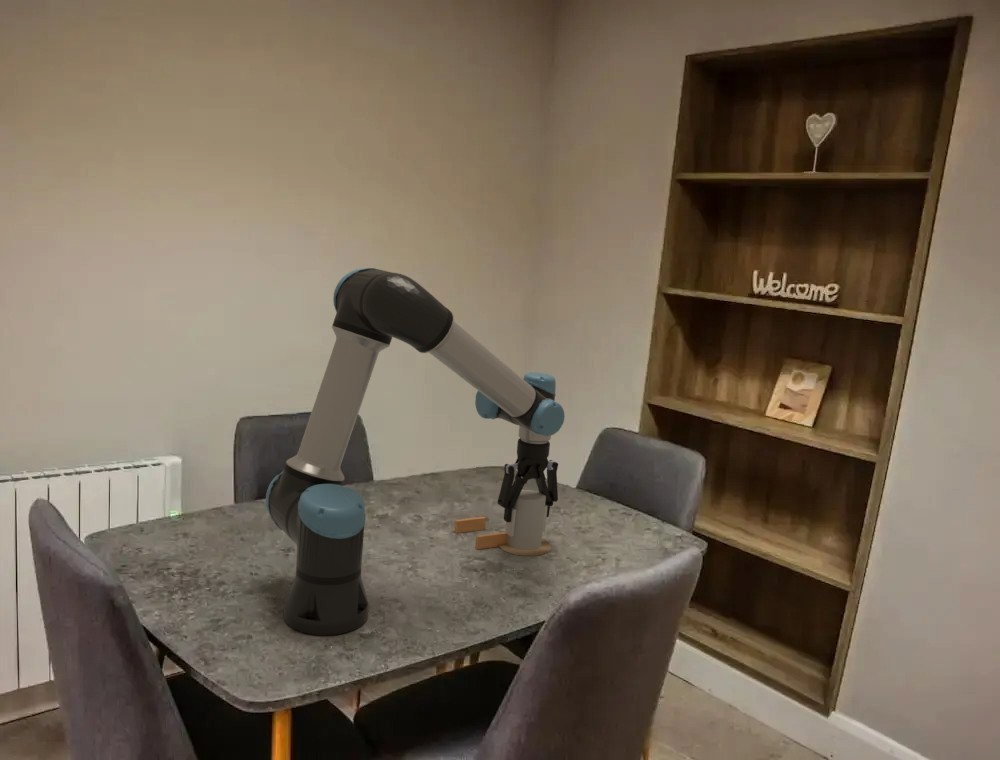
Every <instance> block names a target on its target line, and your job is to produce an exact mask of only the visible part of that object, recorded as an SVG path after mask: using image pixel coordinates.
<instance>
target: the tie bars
mask: <svg viewBox="0 0 1000 760" xmlns="http://www.w3.org/2000/svg"><path fill="white" fill-rule="evenodd" d="M486 521H487V518H486V517H485V516H478V517H469V518H460V519H455V521H454V533H456V534H461V533H468V532H475V531H477V532H478V531H482V530H483V531H484V530H486V523H487V522H486ZM507 537H508V534H506V533H505V531H501V532H493V533H487V534H486V533H485V534H480V535H476V536H475V546H474V548H475V550H483V549H489V548H497V547H498V545H501V544H507ZM498 548H499V547H498Z"/></svg>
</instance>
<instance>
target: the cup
mask: <svg viewBox="0 0 1000 760" xmlns="http://www.w3.org/2000/svg"><path fill="white" fill-rule="evenodd" d="M545 501H546V496H545V495H543V494H542V493H540V492H539V490H538V491H537V490H531V489H522V491H521V493H520V495H519V497H518V499H517V501H516V503H515V506H514V509H516V517H515V528H514V536H512V537H511V536H509V535H508V537H507V543H508V545H510V546H511V547H513V548H516V549H520V550H535V549H538V548H540V547H541V541H542V538H543V532H542V531H543V521H544V511H545Z"/></svg>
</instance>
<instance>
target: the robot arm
mask: <svg viewBox="0 0 1000 760" xmlns="http://www.w3.org/2000/svg"><path fill="white" fill-rule="evenodd" d="M332 300H333V306H334V309H335V312H336V313H335V315H334V316H335V317H334V320H333V323H332V326H331V329H332V331H333V333H334V335H335V337H336V338H335V342H334V344H333V348H332V351H331V354H330V357H329V359H328V362H327V366H326V368H325V372H324V374H323V376H322V377H323V378H322V380H321V383H320V386H319V389H318V392H317V394H316V399H315V400H314V404H313V406H312V410H311V413H310V415H309V419H308V422H307V424H306V428H305V430H304V434H303V436H302V440H301V442H300V444H299V449H298V451H297V453H296V454H295V455H294V456H293V457H290V458H288V459H287V460H286V462H285V465H284V467H283V470H282V471H281V472H280V473H279V474H277V475H275V476H274V478H272V480H271V482H270V483H269V484H268V488H267V490H266V494H265V506H266V511H267V512H268V514H269V516H270V518H271V520H272V522H273V523H274V524H275V526H276V527H277V528H279V530H281V531H283V533H284V534H286V536H288V537H289V539H290V540H292V541H293V542H294V543H295V544H296V563H295V565H296V568H295V577H294V579H293V582H292V585H291V586H290V590H289V593H288V595H287V597H286V599H285V603H284V610H283V612H284V613H283V619H284V621H285V623H286V624H287V625H288V626H289V627H291V629H294V630H295V631H297V632H300V633H303V634H308V635H314V636H331V635H332V636H334V635H335V636H336V635H340V634H345V633H349V632H352V631H354V630H356V629H358V628H360V627H361V626H363V625H364V624H365V623H366V622H367V619H368V618H369V606H370V605H369V599H368V596H367V593H366V589H365V586H364V582H363V579H362V566H363V565H362V564H363V549H364V537H365V536H364V534H365V524H366V514H367V513H366V509H365V507H366V505H365V501H364V499H363V497H362V496H361V494H360V493H359V492H358V491H356V490H354V489H352V488H350V487H348V486H343V484H344V481H345V475H344V473H343V471H342V469H341V465H342V462H343V459H344V456H345V453H346V450H347V449H348V445H349V442H350V439H351V435H352V433H353V430H354V427H355V424H356V421H357V418H358V415H359V412H360V409H361V406H362V403H363V400H364V398H365V394H366V392H367V389H368V386H369V383H370V380H371V377H372V373H373V371H374V368H375V365H376V363H377V360H378V356H379V354H380V352H381V351H384V350H385V349H387V348H389V347H390V345H391V342H392V339H393V338H394V339H396V340H399V341H401V342H404V343H405V344H408V345H409V346H411V347H412V348H413V349H415V350H416V351H417V352H419V353H420V354H428V353H429V354H430V355H432V356H433V357H434V358H435V359H436V360H438V361H439V362H440V363H441V364H443V365H444V366H446V367H447V368H448V369H450V370H451V372H454V373H455V374H456V375H457V376H459V377H460V378H462V380H463V381H465V382H466V383H468V384H469V385H470V386H471V387H473V388H475V390H477V392H476V393H475V403H474V404H475V409H476V412H477V414H478V415H479V416H480V417H481V418H482V419H485V420H486V419H488V420H490V419H491V420H495V419H502V420H504V421H506V422H509V423H511V424H514V425H516V426H518V437H519V438H518V439H517V444H516V445H517V446H516V447H517V448H516V455H517V458H516V460H515V462H514V463H512V464H509V463H505V464H504V465H503V469H504V471H503V472H504V475H503V478H502V483H501V487H500V492H499V495H498V499H497V504H498V505H499V506H500V507H502V508H504V513H503V520H504V521H505V527H504V528H505V529H504V532H505V533H506V534H508V535H509V536H511V537H512V536H514V528H515V517H516V509H514V506H515V503H516V501H517V499H518V497H519V495H520V493H521V491H522V490H524V489H523V488H524V486H525V484H527V483H528V481H529V480H532V479H534V480H535V482H536V486H537V490H538V492H540V493H542V494H543V495H545V496H546V501H545V511H544V521H543V531H542V533H545V532H546V525H547V518H549V515H550V508H551V507H552V506H553V505H554V503H555V502H558V500H559V494H558V491H559V490H558V477H557V475H558V474H557V473H558V468H559V463H558V462H556V461H554V460H553V459H550V460H548V458H549V455H550V448H551V446H550V445H551V443H550V440H551V439H552V436H553V435H556V434H557V433H558V432H559V431H560V429H561V428H562V426H563V425H564V422H565V417H566V415H565V411H564V408H563V406H562V405H561V404H560V403H559V402H557V401H555V398H556V396H557V395H556V389H557V388H556V386H557V385H556V384H557V383H556V378H555V377H554V376H553V375H551V374H548V373H543V372H527V373H524V375H523V378H522V377H521V376H520V375H519V374H518V373H516V372H515V371H514V370H513V369H512V368H510V366H508V365H507V364H506V363H504V361H502V360H501V359H500V358H499V357H497V356H496V355H495V354H494V353H492V352H491V351H490V350H489V349H488V348H486V346H485V345H483V344H482V343H481V342H480V341H478V340H477V339H476V338H474V336H472V335H471V334H470V333H468V331H466V330H465V329H464V328H463V327H462V326H460V325H459V324H458V323H457V322H456V321H455V315H454V314H453V312H452V311H451V310H450V309H449V308H447V307H446V306H445V305H444V304H443V303H442V302H441V301H440V300H438V298H436V297H435V296H434V295H433V294H431V293H430V292H429V291H428V290H427V289H425V288H424V287H423V286H422V285H421V284H420V283H418V282H417V281H416V280H414V279H412V278H411V277H409V276H407V275H405V274H402V273H398V272H392V271H387V270H382V269H379V268H378V269H377V268H375V267H366V268H358V269H357V268H356V269H354V270H351V271H349V272H348V273H346V274H345V275H344V276H343V277H342V278H340V280H339V281H338V283H337V285H336V286H335V289H334V291H333V299H332ZM545 471H546V475H545ZM546 482H547V483H546Z"/></svg>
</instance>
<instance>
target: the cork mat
mask: <svg viewBox="0 0 1000 760" xmlns="http://www.w3.org/2000/svg"><path fill="white" fill-rule="evenodd" d="M498 548H499V549H500V550H501V551H504V552H506V553H509V554H512V555H515V556H522V557H538V556H542V555H546V554H548V553H549V552H551V549H552V545H551V543H550V542H549V541H548V540H547V539H545V538H543V537H542V541H541V547H540V548H538V549H535V550H520V549H516V548H513V547H511V546H510V545H508V543H507V544H501V545H498Z"/></svg>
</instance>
